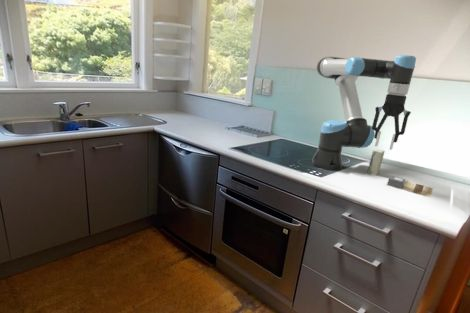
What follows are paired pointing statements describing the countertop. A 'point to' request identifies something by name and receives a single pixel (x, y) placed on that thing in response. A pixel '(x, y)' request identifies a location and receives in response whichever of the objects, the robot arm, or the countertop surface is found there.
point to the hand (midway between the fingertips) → (383, 147)
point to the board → (417, 189)
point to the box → (375, 161)
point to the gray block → (396, 182)
